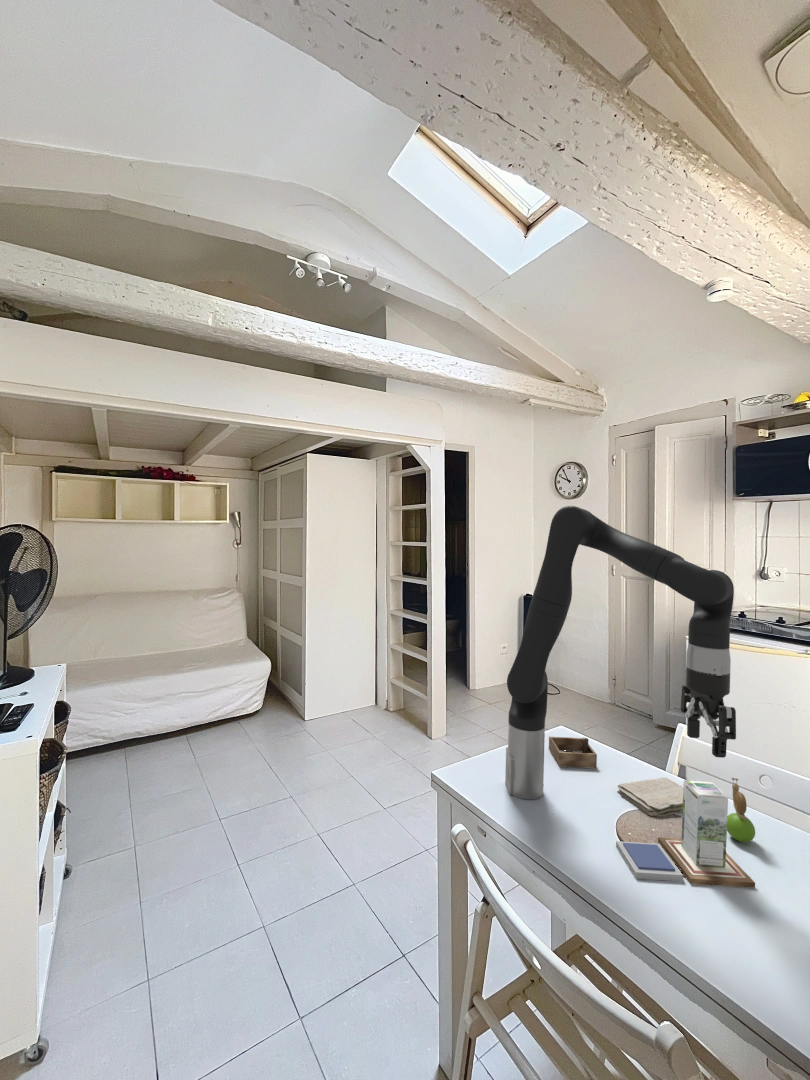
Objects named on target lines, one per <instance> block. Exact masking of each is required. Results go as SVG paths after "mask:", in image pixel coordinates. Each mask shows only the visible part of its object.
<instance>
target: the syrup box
mask: <svg viewBox="0 0 810 1080" xmlns="http://www.w3.org/2000/svg"><path fill="white" fill-rule="evenodd" d="M682 788H683V812H681V813H682V814H681V815H682V821H681V823H682V824H681V839H682V842H681V846H682V848H683V849H684V850H685V851H686V853H687V854H688V855H689V857H690V858H691V859H692V860H693V862H694V863H695V864H696V865H701V866H712V867H725V865H726V853H727V834H728V831H727V816H728V815H729V814H728V810H729V808H728V807H729V798H728V796H727V795H726V794H725V792H723V790H721V789H720V788H719V787H718V786H717V785H715V783H714V782H712V781H711V782H710V781H700V780H699V781H697V780H683V785H682Z"/></svg>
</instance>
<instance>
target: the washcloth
mask: <svg viewBox="0 0 810 1080" xmlns="http://www.w3.org/2000/svg"><path fill="white" fill-rule="evenodd" d="M617 788H618V790H617V792H616V793H618V794H620V795H621V796H622V798H624V799H625V800H626V801H627V802H628V803H630V804H632V805H634V806H635V807H636V808H637V809H639V810H640V811H641V812H643V813H644V814H646V815H648V816H650V817H651V816H653V817H654V816H655V817H663V816H670V815H673V814H677V813H683V785H680V784H679V783H677V782H675V781H673V780H672V779H670V778H668V777H660V778H651V779H644V780H637V781H633V782H624V783H619V784H618V785H617Z"/></svg>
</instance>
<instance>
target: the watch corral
mask: <svg viewBox="0 0 810 1080" xmlns="http://www.w3.org/2000/svg"><path fill="white" fill-rule="evenodd" d="M584 739H585V737H584V738H583V737H570V736H569V737H565V736H562V737H561V736H548V751H549V750H550V751H549V752H550V754H551V755H552V758H553V757H554V758H553V760H554V761H555V762H557V763H556V764H557V766H558V767H560V766H565V767H564V768H582V769H597V765H598V764H597V761H598V755H597V753H596V752H595V750H594V749H593V748H592V746H591V745H590V743H588V750H587V753H582V746H583V742H584ZM560 750H569V751H574V752H576V753H574V752H563V751H560ZM577 751H580V752H577Z"/></svg>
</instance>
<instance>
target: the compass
mask: <svg viewBox="0 0 810 1080" xmlns="http://www.w3.org/2000/svg"><path fill="white" fill-rule="evenodd" d="M582 738H584V742H583V746H582V752H581V753H587V750H588V744H589V739H588V738H587V737H582ZM562 752H574V753H577V751H569V750H566V751H562Z"/></svg>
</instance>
